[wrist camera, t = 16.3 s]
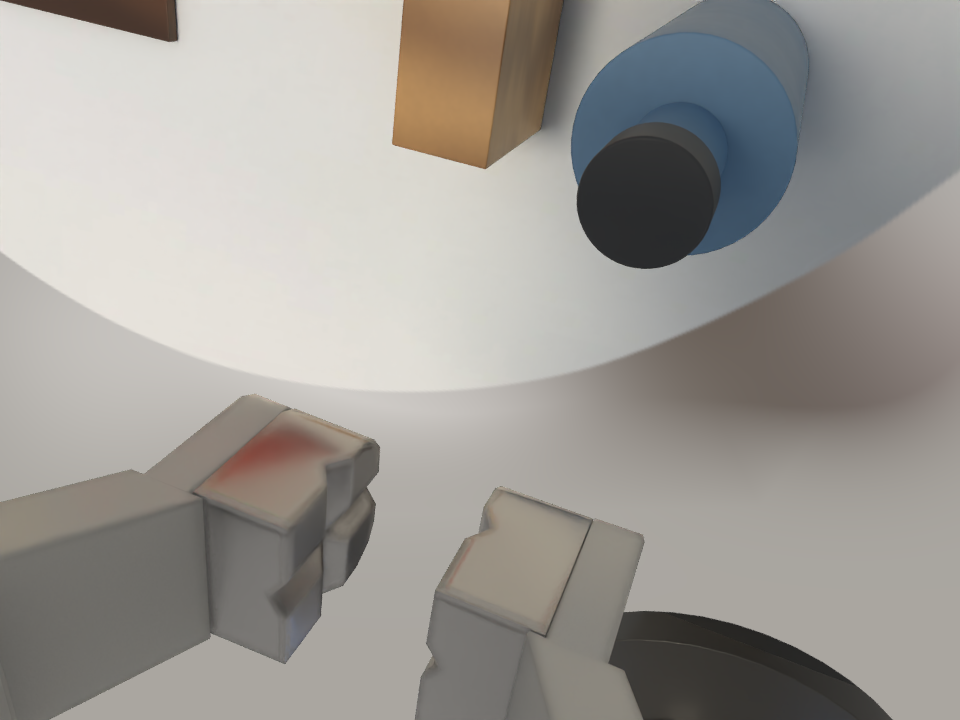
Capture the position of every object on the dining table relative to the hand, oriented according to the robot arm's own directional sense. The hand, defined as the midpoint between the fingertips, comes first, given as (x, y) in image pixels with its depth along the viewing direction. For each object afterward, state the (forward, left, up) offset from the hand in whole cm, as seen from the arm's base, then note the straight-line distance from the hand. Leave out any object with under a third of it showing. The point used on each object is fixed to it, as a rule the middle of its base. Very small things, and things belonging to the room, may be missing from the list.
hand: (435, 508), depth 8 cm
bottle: (0, +4, -28) cm, 29 cm away
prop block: (0, +9, -29) cm, 31 cm away
